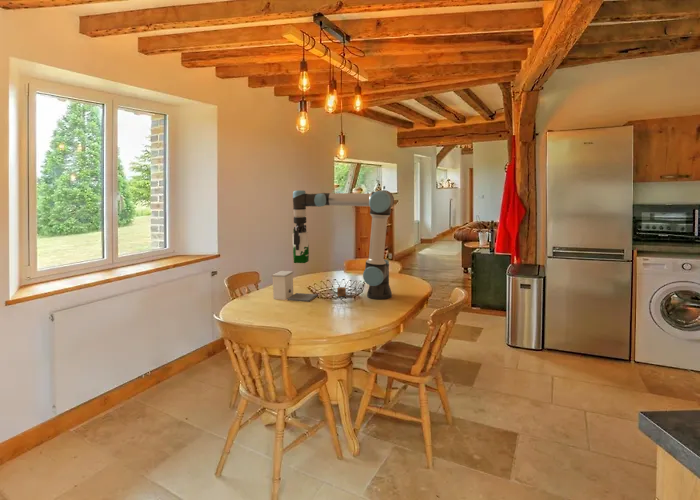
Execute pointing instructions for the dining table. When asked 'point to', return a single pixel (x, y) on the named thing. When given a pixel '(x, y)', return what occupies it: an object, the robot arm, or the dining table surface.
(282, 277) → the dispenser unit
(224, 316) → the dining table surface
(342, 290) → the walnut block
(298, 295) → the pad
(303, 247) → the soya milk
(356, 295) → the dining table surface
